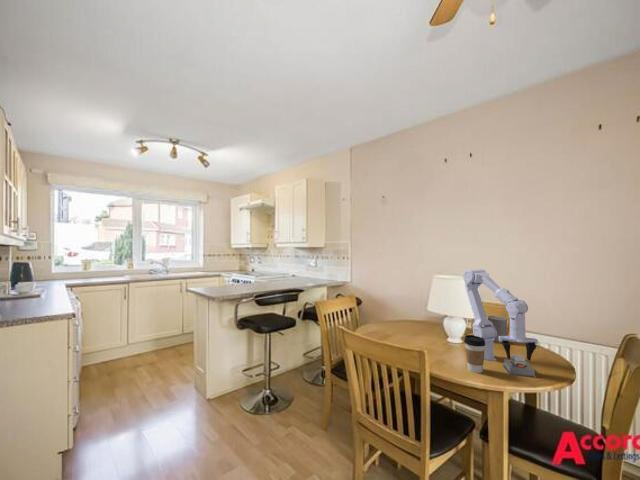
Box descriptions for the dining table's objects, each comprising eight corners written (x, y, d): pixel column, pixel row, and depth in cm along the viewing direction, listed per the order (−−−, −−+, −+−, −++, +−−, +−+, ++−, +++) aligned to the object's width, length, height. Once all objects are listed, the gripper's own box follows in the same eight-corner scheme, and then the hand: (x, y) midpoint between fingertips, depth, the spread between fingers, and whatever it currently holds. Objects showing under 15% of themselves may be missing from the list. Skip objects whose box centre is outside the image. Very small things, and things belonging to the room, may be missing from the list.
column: (514, 372, 125) (514, 357, 126) (511, 368, 129) (511, 353, 130) (526, 373, 124) (525, 358, 124) (522, 369, 128) (522, 354, 128)
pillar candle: (484, 339, 170) (484, 314, 170) (495, 337, 174) (494, 312, 174) (500, 344, 161) (500, 318, 161) (511, 342, 166) (511, 316, 166)
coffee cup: (467, 365, 134) (466, 333, 135) (487, 370, 129) (486, 336, 129) (462, 371, 128) (462, 337, 128) (484, 376, 123) (483, 341, 123)
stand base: (509, 375, 124) (509, 365, 124) (502, 366, 133) (502, 357, 133) (536, 378, 121) (536, 368, 121) (527, 368, 130) (527, 359, 130)
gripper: (501, 329, 126) (502, 360, 125) (540, 331, 121) (541, 364, 121) (497, 325, 132) (497, 354, 132) (533, 327, 128) (534, 357, 128)
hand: (518, 358), depth 127 cm, fingers open, 7 cm apart
